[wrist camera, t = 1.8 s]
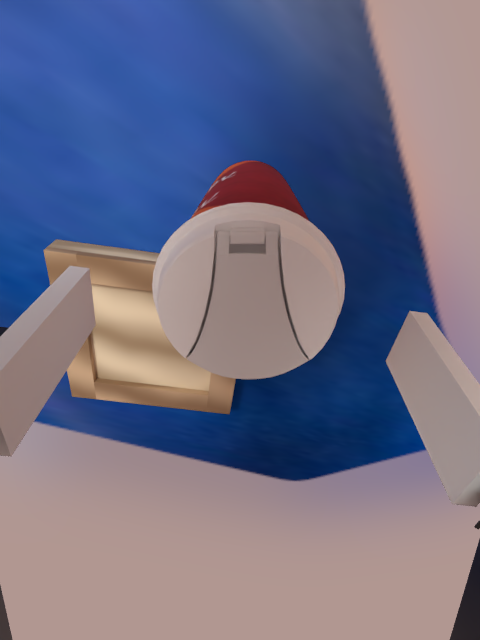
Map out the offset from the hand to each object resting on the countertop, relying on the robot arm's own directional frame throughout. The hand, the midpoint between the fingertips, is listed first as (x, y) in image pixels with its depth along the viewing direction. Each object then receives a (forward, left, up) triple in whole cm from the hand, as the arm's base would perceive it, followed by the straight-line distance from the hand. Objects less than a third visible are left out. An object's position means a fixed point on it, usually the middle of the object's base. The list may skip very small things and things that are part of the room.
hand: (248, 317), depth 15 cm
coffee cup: (0, 0, -15) cm, 15 cm away
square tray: (+13, -7, -14) cm, 20 cm away
